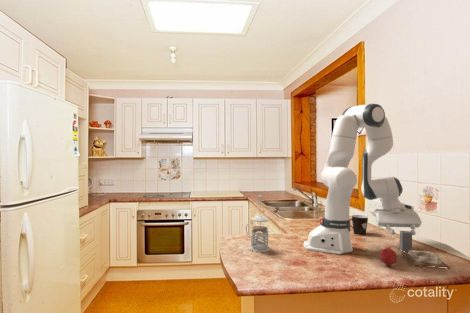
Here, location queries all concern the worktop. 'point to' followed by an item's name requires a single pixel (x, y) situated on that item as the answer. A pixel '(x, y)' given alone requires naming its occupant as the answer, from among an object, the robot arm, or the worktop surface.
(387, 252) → the onion
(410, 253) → the socket board
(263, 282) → the worktop surface
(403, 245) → the plug
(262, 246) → the french press
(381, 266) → the worktop surface
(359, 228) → the coffee mug
